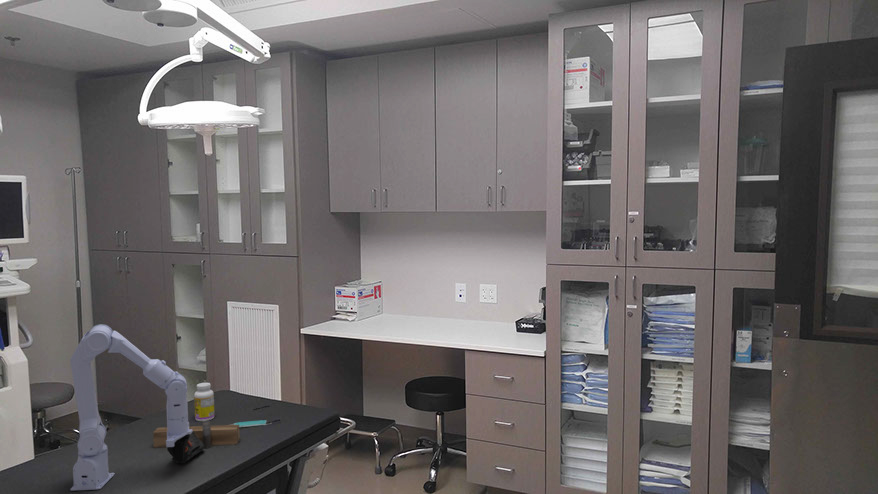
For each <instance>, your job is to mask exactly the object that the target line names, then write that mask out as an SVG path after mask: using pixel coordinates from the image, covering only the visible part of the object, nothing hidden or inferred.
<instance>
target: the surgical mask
mask: <svg viewBox="0 0 878 494" xmlns="http://www.w3.org/2000/svg"><path fill="white" fill-rule="evenodd" d="M268 407H269V408H270V405H265V406H262V407H256V408H253V411H256V410H260V409H264V408H268ZM267 421H268V420H265V419H264V418H263V419H261V420H250V421H248V420H247V421H239V422H234V423H232V424H231V425H239V429H240V428H241V429H242V428H250V427H261V426H267V425H271V424H272V423H275V422H280V421H281V419H277V420H276V419H275V420H273V421H269V422H267Z"/></svg>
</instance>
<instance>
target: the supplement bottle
mask: <svg viewBox="0 0 878 494" xmlns="http://www.w3.org/2000/svg"><path fill="white" fill-rule="evenodd" d="M211 387H212V384H211V383H210V382H200V383H198V384H196V389H197V390H196V391H195V392H194V394H193V397H194V398H193V399H194V400H193V401H194V419H195V421H197V422H199V423H200V422H201V423H203V422H206V421H211V420H213V419H214V418H215V396H214V395H215V394H214V391H213V390H212V389H211Z"/></svg>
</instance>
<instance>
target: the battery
mask: <svg viewBox="0 0 878 494" xmlns="http://www.w3.org/2000/svg"><path fill="white" fill-rule="evenodd" d="M188 435H190V438H189V440H188V442H187V445H186V449H185V455H184V459H183V461H182V462H177V463H178V464H185V463H186V462H187V461H189V460H190V459H192V458H193V457H195V456H196V455H198V454H199V453H200V452H202V451H203V450H204V449H206V448H205V446H204V445H203V442H201V440H200V439H199V438H198V437H197V436H196V435H195V433H194V432H192V433H191V434H188ZM166 448H167V452H168V453H169V454H170V455H171V456H172V458H171V460H172V461H174V462H175V460H174V457H173V454H172V451H171V449H170V447H166Z"/></svg>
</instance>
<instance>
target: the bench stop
mask: <svg viewBox="0 0 878 494" xmlns="http://www.w3.org/2000/svg"><path fill="white" fill-rule="evenodd" d="M201 423H202V425H200V426H199V425H198V426H197V425H196V426H195V425H194V426H189V429H192V430H193V432H194V433H195V435H196V436H197V437H198V438H199V439H200V440H201V442H203V445H204V446H205V448H204V449H210V448H211V447H212V446H222V445H227V446H228V445H237V444H238V443H239V441H240V440H241V439H240V438H241V437H240V428H239V425H232V424H225V425H224V424H223V425H222V424H219V425H211V420H209V421H203V422H201ZM152 435H153V437H152V439H153V440H152V441H153V448H167V447H166V440H167V426H166V427H157V428H156V429H154V431H153V434H152Z"/></svg>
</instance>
